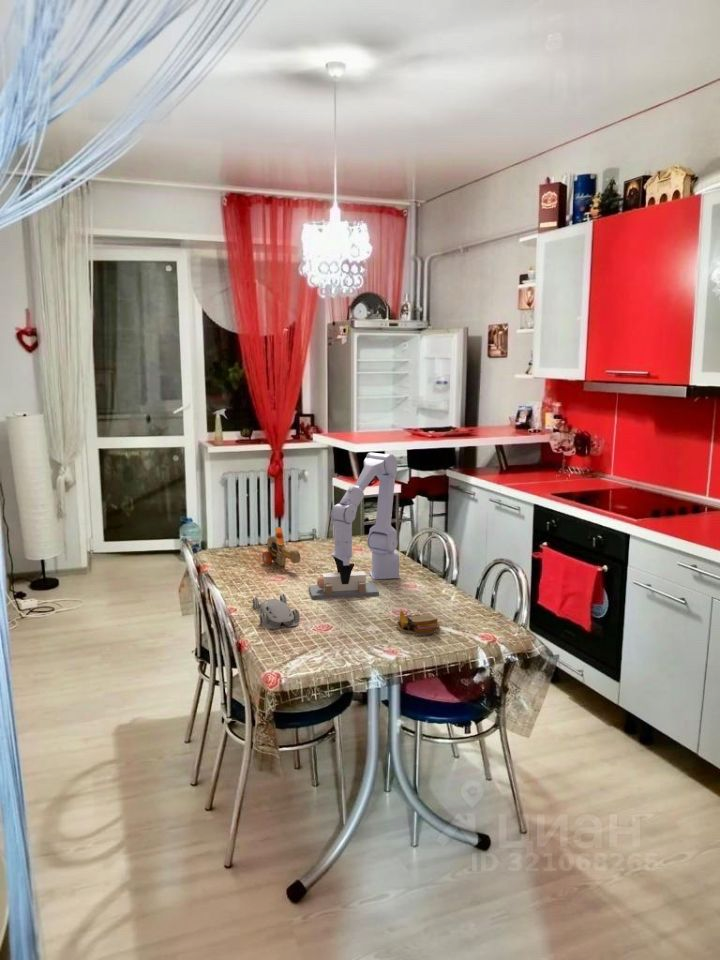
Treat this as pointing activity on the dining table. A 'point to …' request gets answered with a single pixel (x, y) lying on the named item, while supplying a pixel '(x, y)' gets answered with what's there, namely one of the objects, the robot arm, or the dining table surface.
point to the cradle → (363, 590)
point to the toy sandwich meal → (417, 624)
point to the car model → (276, 613)
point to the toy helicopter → (279, 550)
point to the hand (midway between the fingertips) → (343, 580)
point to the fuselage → (336, 581)
